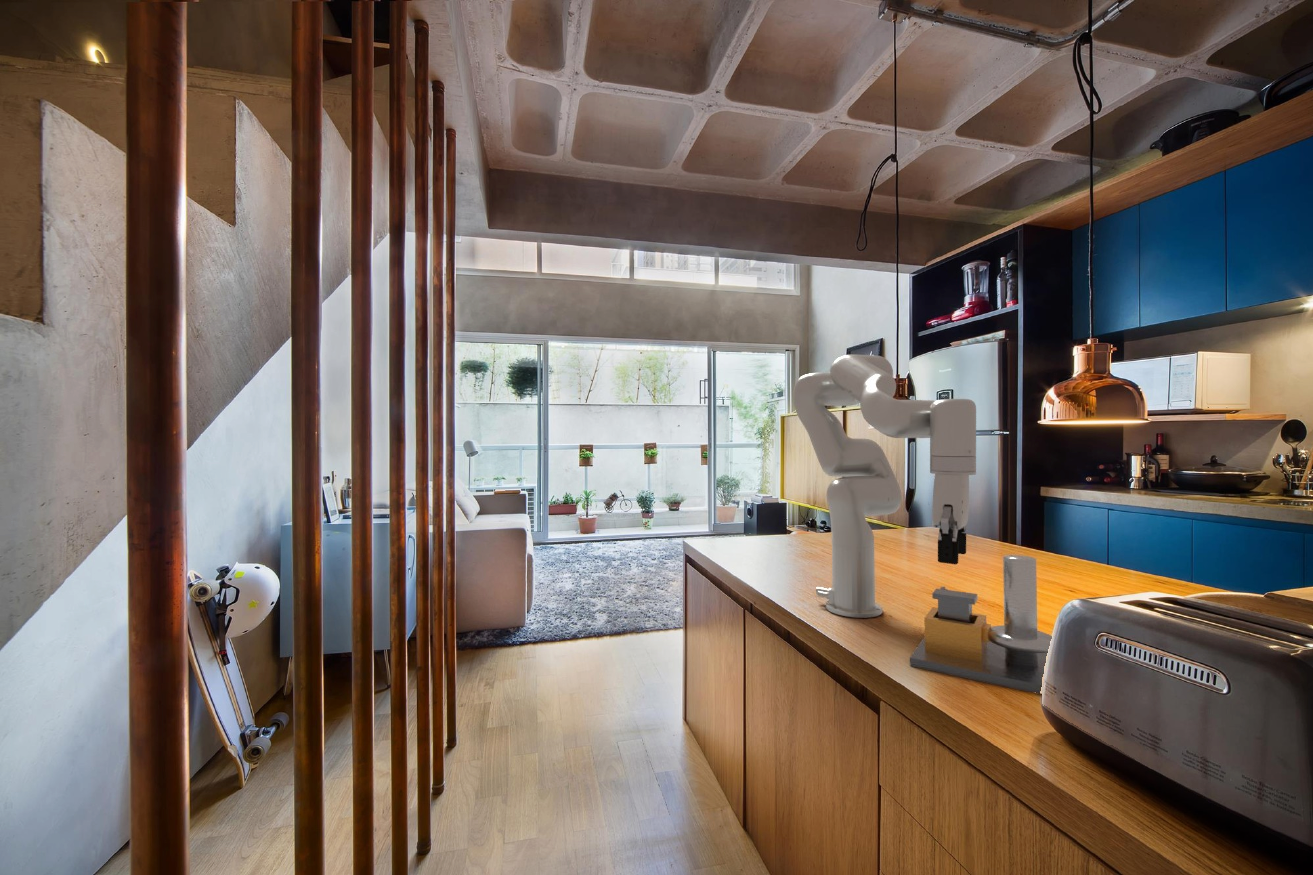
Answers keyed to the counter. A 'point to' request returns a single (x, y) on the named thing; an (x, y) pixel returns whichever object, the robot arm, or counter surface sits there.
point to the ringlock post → (992, 637)
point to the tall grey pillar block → (955, 605)
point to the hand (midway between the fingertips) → (952, 557)
